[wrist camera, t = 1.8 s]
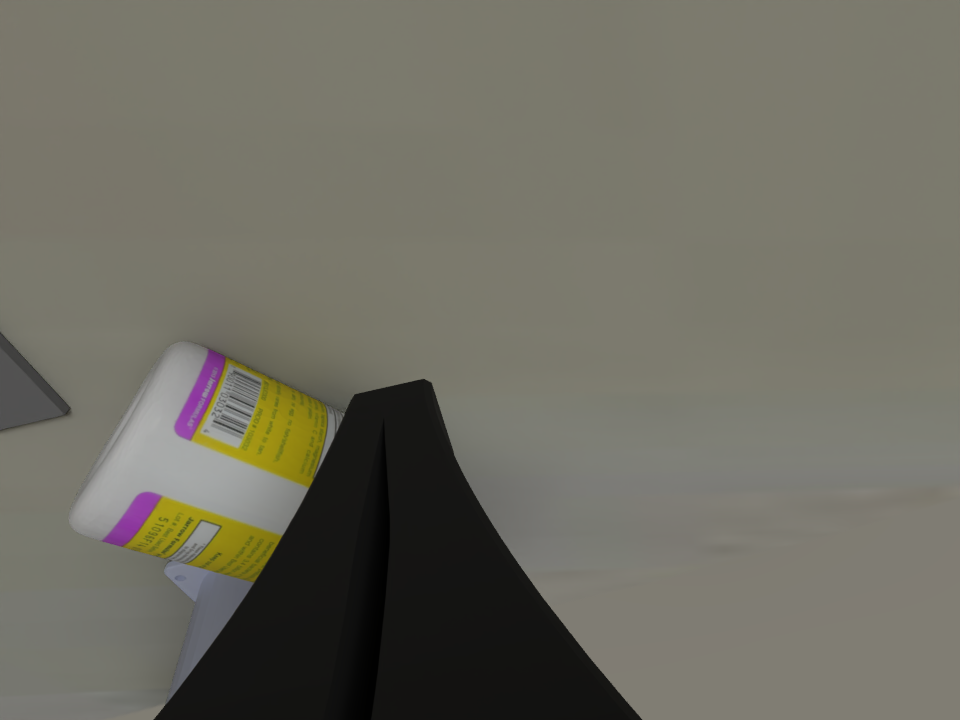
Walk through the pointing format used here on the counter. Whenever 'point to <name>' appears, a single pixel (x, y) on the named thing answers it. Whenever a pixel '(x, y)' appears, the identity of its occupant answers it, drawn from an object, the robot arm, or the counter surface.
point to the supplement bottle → (205, 464)
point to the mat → (24, 391)
